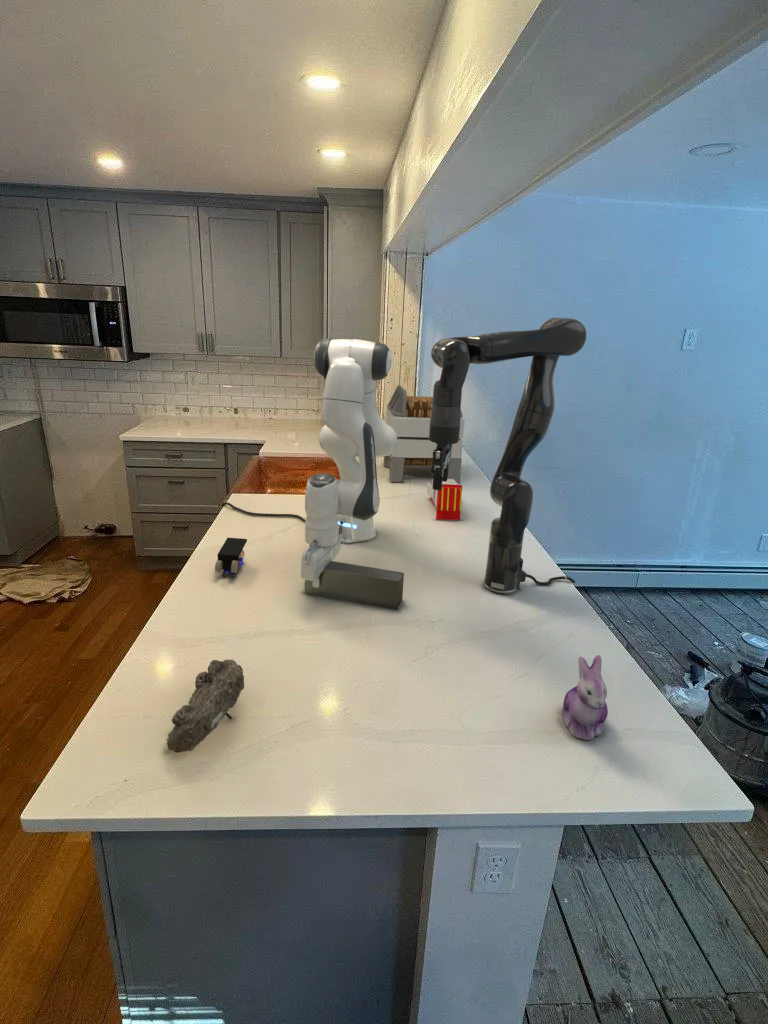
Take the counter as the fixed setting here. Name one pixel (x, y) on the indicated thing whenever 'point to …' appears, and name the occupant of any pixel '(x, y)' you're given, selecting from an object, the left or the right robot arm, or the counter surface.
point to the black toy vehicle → (230, 556)
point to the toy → (447, 499)
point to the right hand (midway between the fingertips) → (440, 485)
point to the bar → (359, 585)
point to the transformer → (415, 436)
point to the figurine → (586, 702)
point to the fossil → (206, 705)
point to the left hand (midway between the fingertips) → (321, 581)
